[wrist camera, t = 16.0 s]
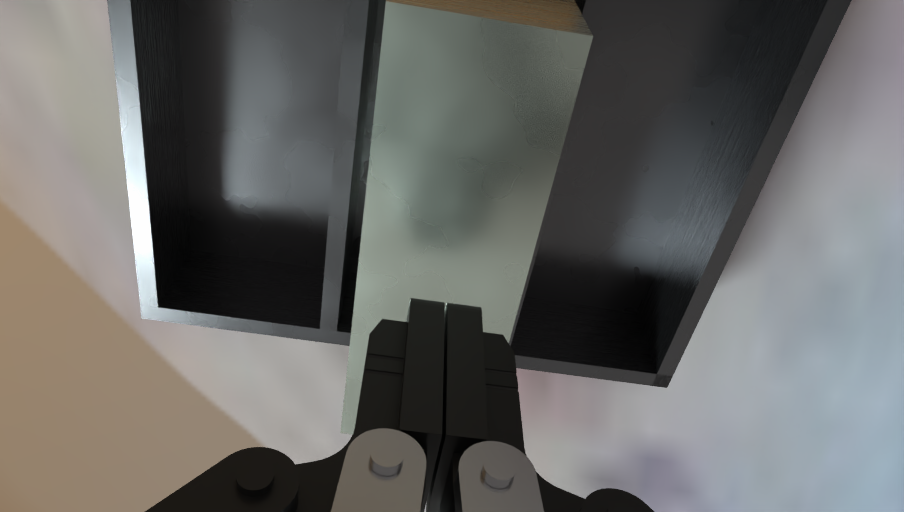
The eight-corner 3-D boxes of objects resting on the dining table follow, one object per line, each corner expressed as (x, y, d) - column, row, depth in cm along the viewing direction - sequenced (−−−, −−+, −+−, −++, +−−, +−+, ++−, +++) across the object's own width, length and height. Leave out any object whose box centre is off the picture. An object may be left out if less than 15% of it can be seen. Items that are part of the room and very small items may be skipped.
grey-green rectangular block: (546, -55, 21) (593, 36, 13) (474, 268, 27) (479, 449, 20) (413, -79, 20) (385, 1, 13) (373, 254, 27) (340, 432, 20)
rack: (807, -80, 21) (880, -51, 17) (642, 316, 30) (668, 391, 26) (152, -207, 19) (81, -204, 16) (181, 251, 28) (139, 322, 24)
